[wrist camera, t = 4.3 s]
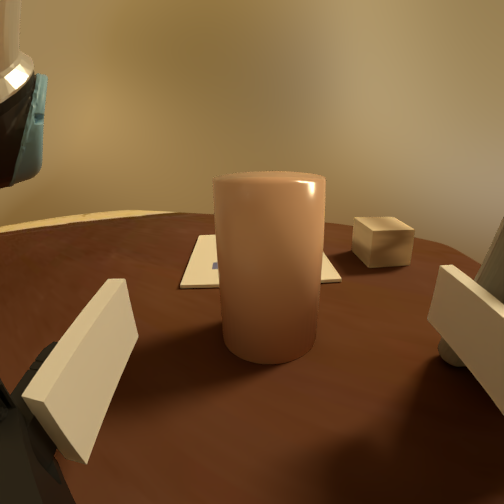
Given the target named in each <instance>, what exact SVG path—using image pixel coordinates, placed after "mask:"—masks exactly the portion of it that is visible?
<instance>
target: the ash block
mask: <svg viewBox="0 0 504 504" xmlns="http://www.w3.org/2000/svg"><path fill="white" fill-rule="evenodd" d="M414 234H415V229H413V228H411V227H410V226H408V225H406V224H404V223H403V222H401V221H399V220H397V219H396V218H394V217H354V225H353V238H352V250H351V251H352V252H353V253H354V254H355V255H356V256H357V257H358V258H359V259H360V260H361V261H362V262H363V263H364V264H365V265H366V266H367V267H368V268H377V267H391V266H405V265H410V261H411V255H412V248H413V241H414Z"/></svg>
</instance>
